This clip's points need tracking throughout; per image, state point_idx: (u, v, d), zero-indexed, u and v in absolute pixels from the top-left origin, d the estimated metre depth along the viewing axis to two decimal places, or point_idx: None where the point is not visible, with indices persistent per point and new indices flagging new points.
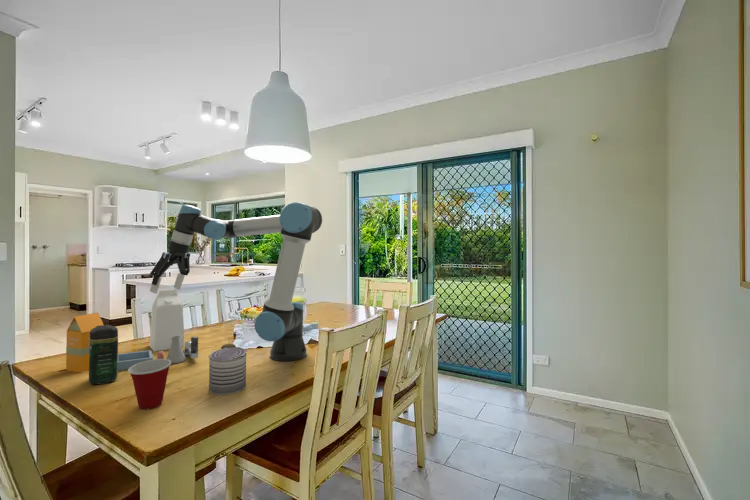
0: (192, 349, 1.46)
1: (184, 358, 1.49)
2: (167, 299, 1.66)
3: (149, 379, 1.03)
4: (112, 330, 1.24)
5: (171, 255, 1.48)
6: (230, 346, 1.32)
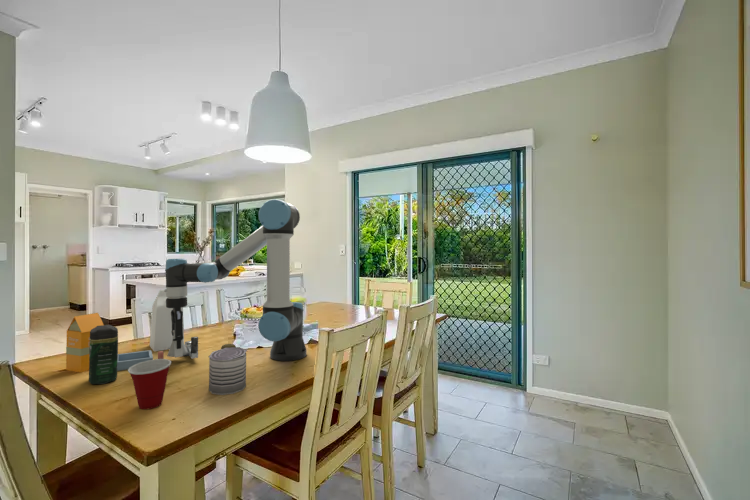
0: (192, 349, 1.46)
1: (186, 351, 1.49)
2: None
3: (149, 379, 1.03)
4: (112, 330, 1.24)
5: (180, 312, 1.45)
6: (230, 346, 1.32)
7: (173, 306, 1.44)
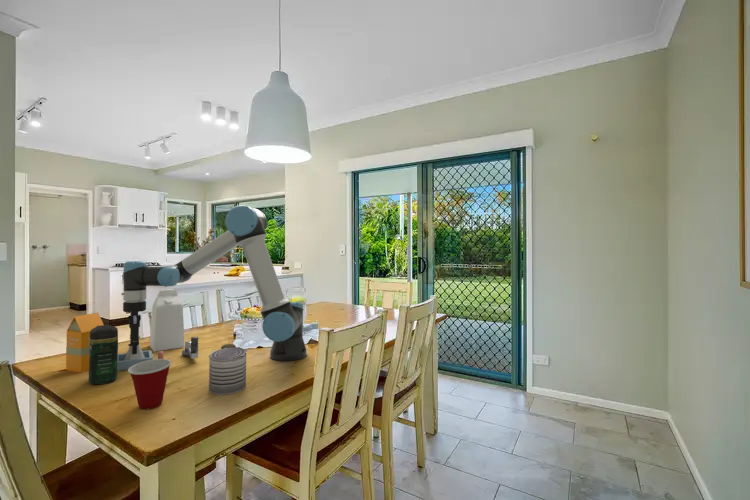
0: (192, 349, 1.46)
1: None
2: (167, 299, 1.66)
3: (148, 379, 1.03)
4: (112, 330, 1.24)
5: (137, 316, 1.41)
6: (230, 346, 1.32)
7: (130, 310, 1.40)
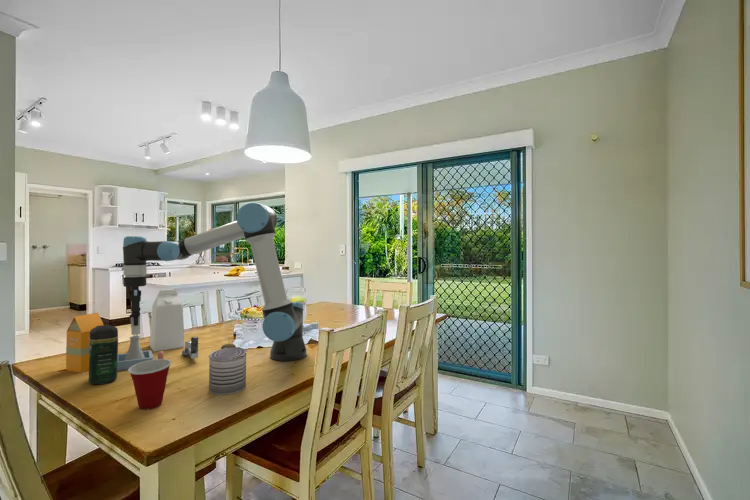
0: (192, 349, 1.46)
1: None
2: (167, 299, 1.66)
3: (148, 379, 1.03)
4: (112, 330, 1.24)
5: None
6: (230, 346, 1.32)
7: (130, 285, 1.40)
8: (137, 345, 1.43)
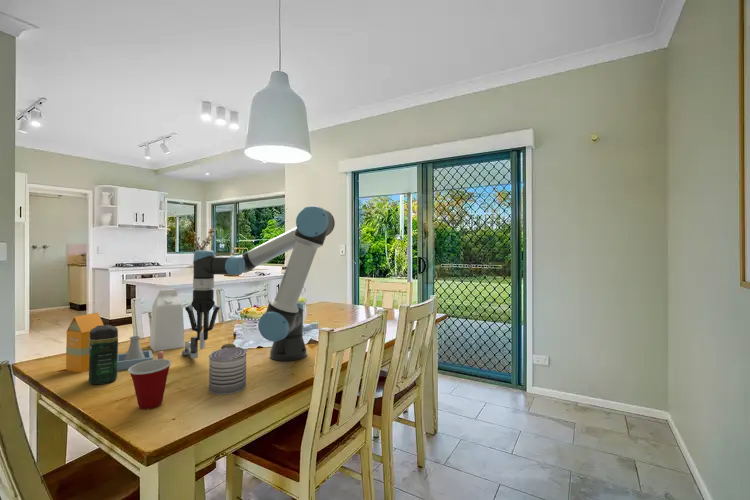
0: (192, 349, 1.46)
1: None
2: (167, 299, 1.66)
3: (148, 379, 1.03)
4: (112, 330, 1.24)
5: None
6: (230, 346, 1.32)
7: (211, 297, 1.46)
8: (137, 345, 1.43)
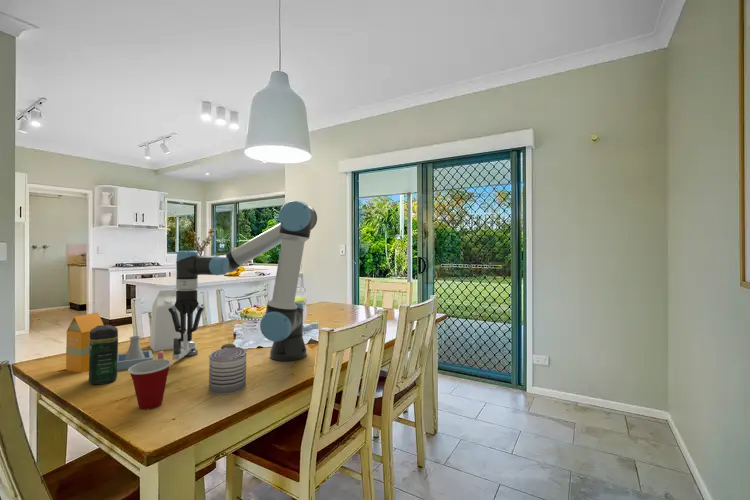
0: (173, 350, 1.44)
1: None
2: (167, 299, 1.66)
3: (149, 379, 1.03)
4: (112, 330, 1.24)
5: None
6: (230, 346, 1.32)
7: (194, 298, 1.45)
8: (137, 345, 1.43)
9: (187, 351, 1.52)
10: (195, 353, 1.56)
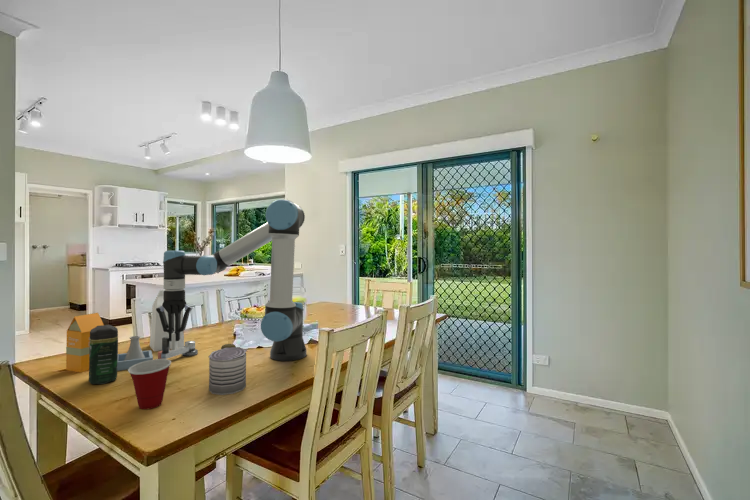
0: (162, 349, 1.45)
1: None
2: None
3: (148, 379, 1.03)
4: (112, 330, 1.24)
5: None
6: (230, 346, 1.32)
7: (182, 298, 1.45)
8: (137, 345, 1.43)
9: (181, 351, 1.52)
10: (195, 353, 1.56)
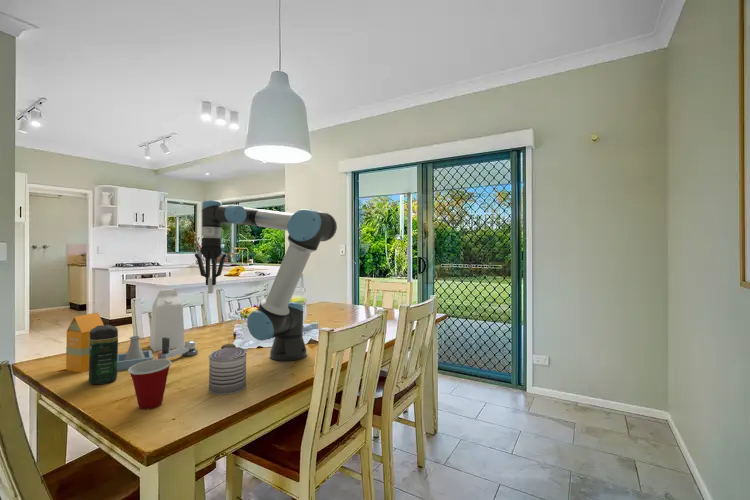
0: (162, 349, 1.45)
1: None
2: (167, 299, 1.66)
3: (148, 379, 1.03)
4: (112, 330, 1.24)
5: None
6: (230, 346, 1.32)
7: (219, 245, 1.56)
8: (137, 345, 1.43)
9: (181, 351, 1.52)
10: (195, 353, 1.56)
